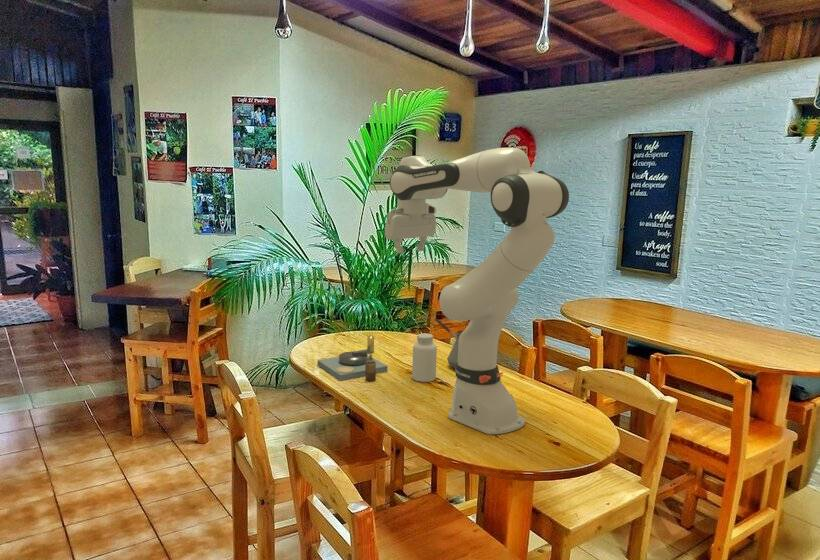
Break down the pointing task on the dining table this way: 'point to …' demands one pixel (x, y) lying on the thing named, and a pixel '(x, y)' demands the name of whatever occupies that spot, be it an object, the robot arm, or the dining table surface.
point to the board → (347, 368)
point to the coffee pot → (454, 352)
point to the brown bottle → (370, 370)
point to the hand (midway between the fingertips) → (410, 251)
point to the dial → (357, 354)
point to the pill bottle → (424, 358)
